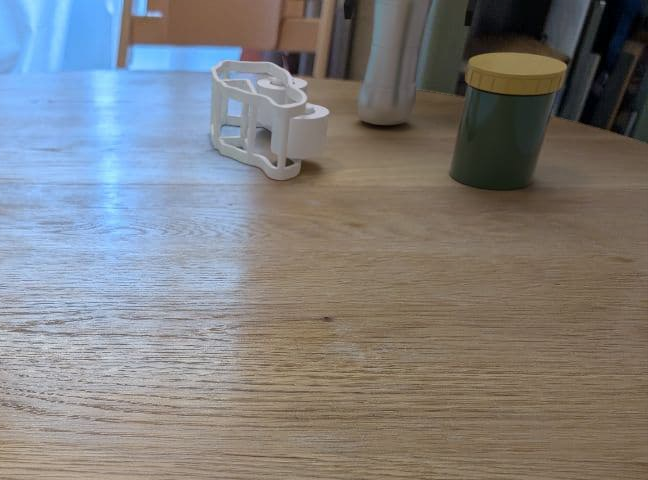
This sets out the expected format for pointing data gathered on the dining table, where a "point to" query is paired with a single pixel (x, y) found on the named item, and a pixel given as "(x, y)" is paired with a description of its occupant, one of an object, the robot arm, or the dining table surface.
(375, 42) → the plastic bottle
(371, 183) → the dining table surface
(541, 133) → the green jar
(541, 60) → the lid
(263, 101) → the car outline toy
